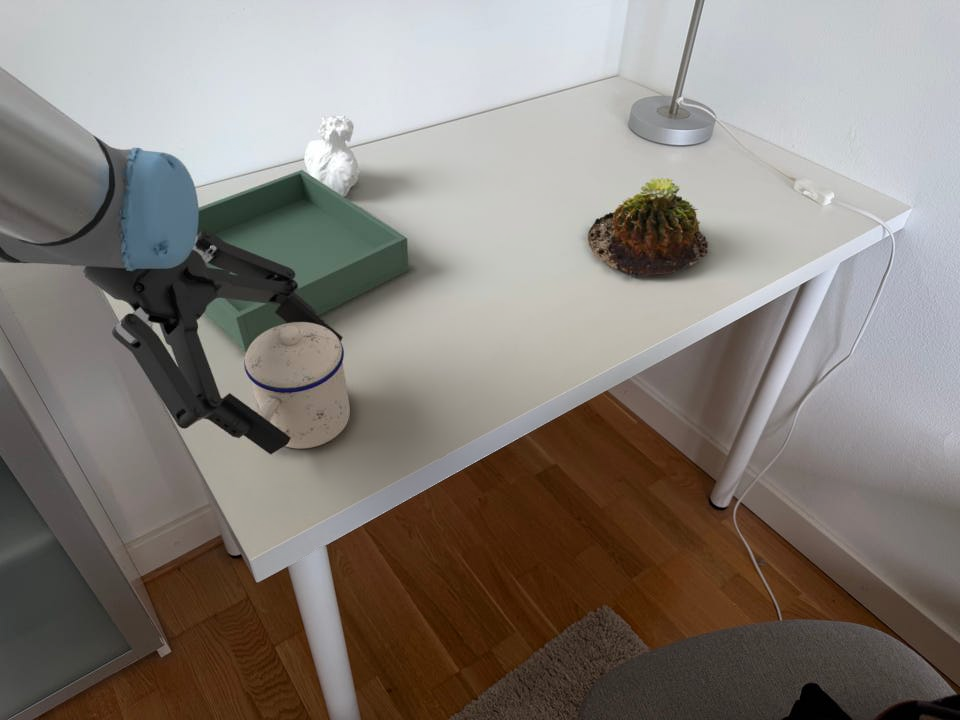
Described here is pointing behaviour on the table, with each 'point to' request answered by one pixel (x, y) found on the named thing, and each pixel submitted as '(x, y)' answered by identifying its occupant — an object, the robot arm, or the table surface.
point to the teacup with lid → (300, 382)
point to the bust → (333, 155)
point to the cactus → (649, 232)
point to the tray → (302, 248)
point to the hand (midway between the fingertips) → (309, 392)
